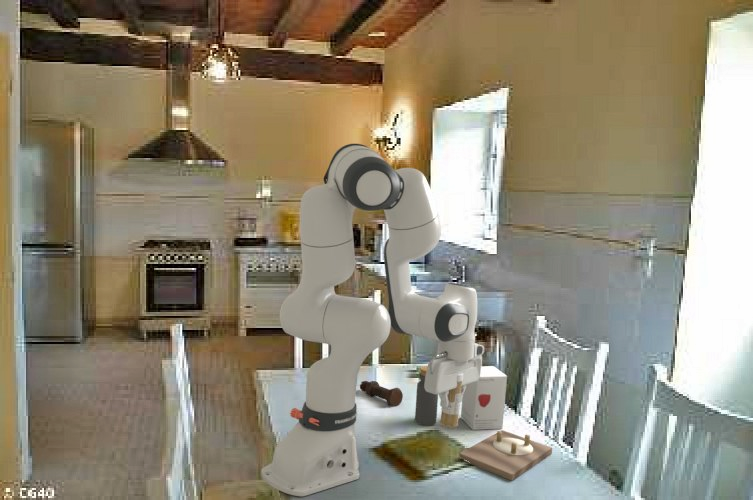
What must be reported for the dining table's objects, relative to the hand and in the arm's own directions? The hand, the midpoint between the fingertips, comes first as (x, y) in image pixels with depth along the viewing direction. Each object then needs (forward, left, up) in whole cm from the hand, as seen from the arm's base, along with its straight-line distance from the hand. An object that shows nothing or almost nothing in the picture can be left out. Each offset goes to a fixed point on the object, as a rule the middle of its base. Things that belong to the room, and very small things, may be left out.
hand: (451, 404), depth 144 cm
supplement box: (+20, +3, -11) cm, 23 cm away
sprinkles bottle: (0, 0, -5) cm, 5 cm away
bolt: (+12, +34, -11) cm, 37 cm away
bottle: (+9, +14, -11) cm, 20 cm away
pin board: (+7, -12, -11) cm, 18 cm away
